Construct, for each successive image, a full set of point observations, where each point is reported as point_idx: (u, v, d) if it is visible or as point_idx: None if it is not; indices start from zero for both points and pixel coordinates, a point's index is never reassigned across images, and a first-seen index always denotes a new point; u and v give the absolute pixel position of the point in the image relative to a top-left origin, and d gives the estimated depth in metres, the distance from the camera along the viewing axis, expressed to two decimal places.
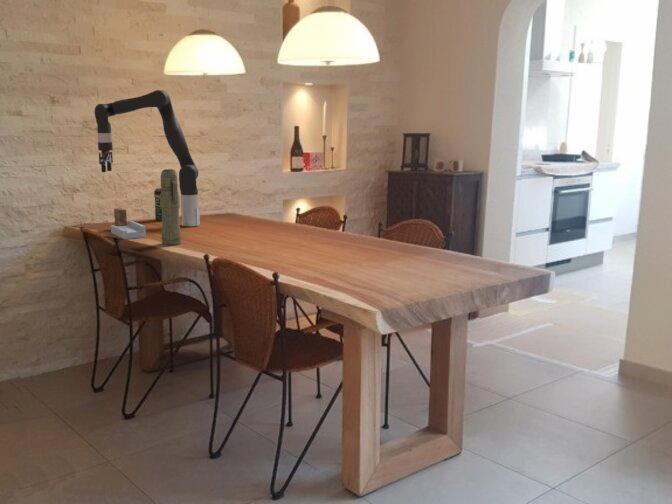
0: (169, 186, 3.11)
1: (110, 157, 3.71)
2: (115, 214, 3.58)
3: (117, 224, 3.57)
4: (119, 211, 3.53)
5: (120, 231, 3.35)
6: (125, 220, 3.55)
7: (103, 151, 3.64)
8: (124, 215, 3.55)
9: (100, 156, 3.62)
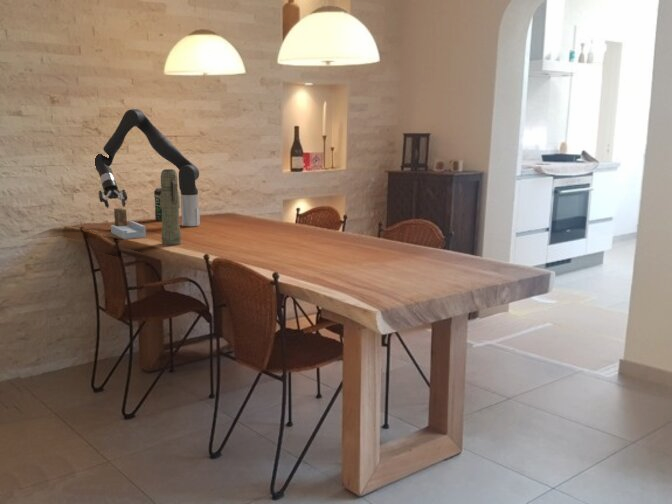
0: (169, 186, 3.11)
1: (117, 193, 3.66)
2: (115, 214, 3.58)
3: (117, 224, 3.57)
4: (119, 211, 3.53)
5: (120, 231, 3.35)
6: (125, 220, 3.55)
7: (104, 190, 3.65)
8: (124, 215, 3.55)
9: (99, 195, 3.63)
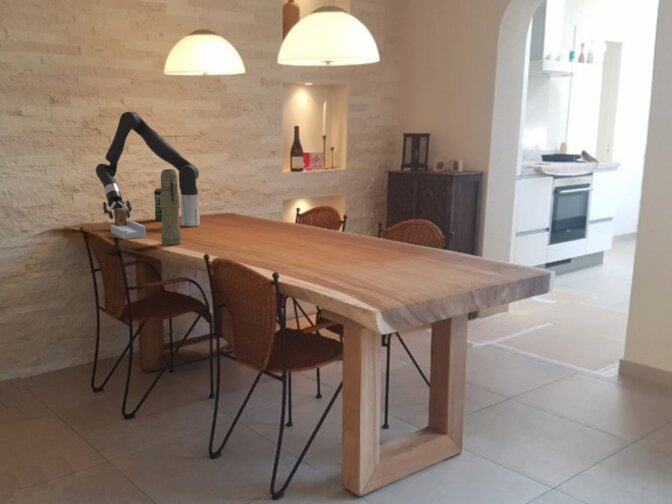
0: (169, 186, 3.11)
1: (122, 204, 3.61)
2: (115, 214, 3.58)
3: (117, 224, 3.57)
4: (119, 211, 3.53)
5: (120, 231, 3.35)
6: (125, 220, 3.55)
7: (108, 201, 3.60)
8: (124, 215, 3.55)
9: (103, 206, 3.58)
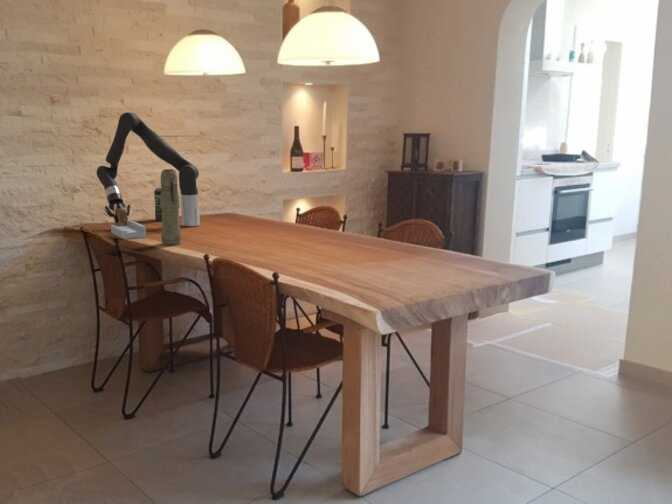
0: (169, 186, 3.11)
1: (122, 207, 3.60)
2: None
3: (117, 224, 3.57)
4: (119, 211, 3.53)
5: (120, 231, 3.35)
6: (125, 220, 3.55)
7: (109, 204, 3.59)
8: (124, 215, 3.55)
9: (106, 210, 3.57)
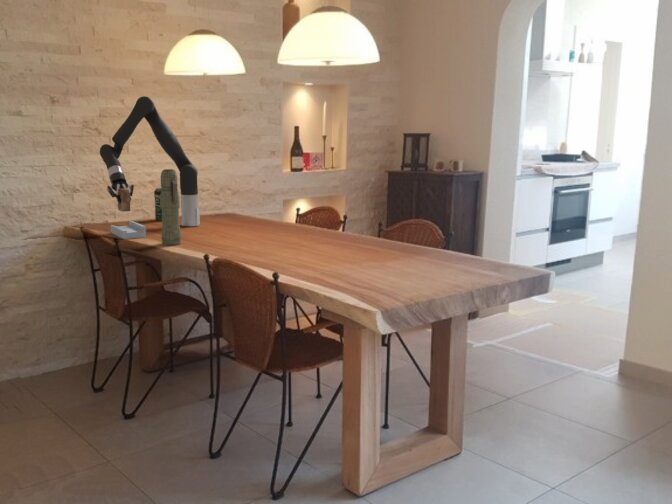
0: (169, 186, 3.11)
1: (125, 187, 3.48)
2: None
3: (120, 204, 3.44)
4: (122, 191, 3.41)
5: (120, 231, 3.35)
6: (128, 200, 3.43)
7: (112, 184, 3.47)
8: (127, 195, 3.42)
9: (108, 190, 3.45)
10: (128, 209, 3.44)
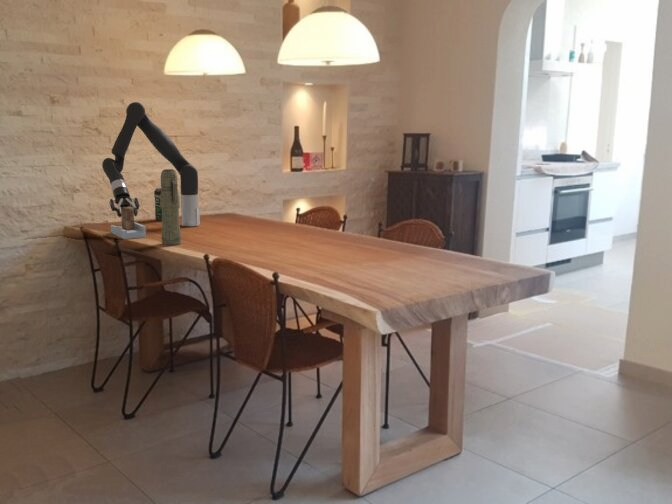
0: (169, 186, 3.11)
1: (129, 201, 3.43)
2: (122, 213, 3.42)
3: (124, 223, 3.40)
4: (126, 209, 3.37)
5: (120, 231, 3.35)
6: (132, 219, 3.39)
7: (115, 198, 3.43)
8: (131, 214, 3.38)
9: (110, 203, 3.40)
10: (132, 228, 3.40)
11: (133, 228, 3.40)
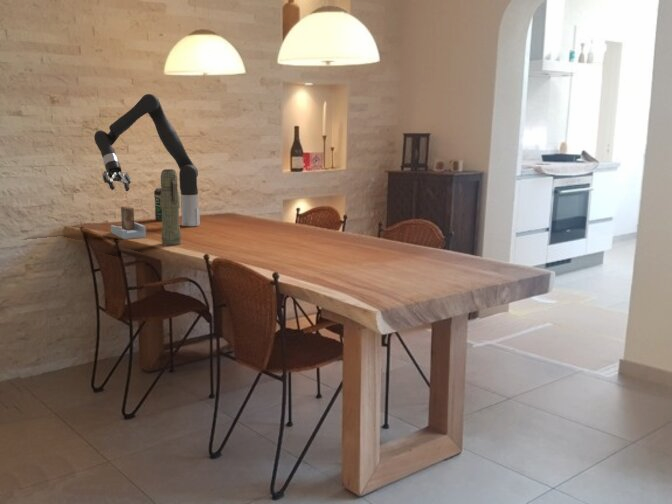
0: (169, 186, 3.11)
1: (122, 176, 3.54)
2: (122, 213, 3.42)
3: (124, 223, 3.40)
4: (126, 209, 3.37)
5: (120, 231, 3.35)
6: (132, 219, 3.39)
7: (108, 171, 3.51)
8: (131, 214, 3.38)
9: (103, 175, 3.48)
10: (132, 228, 3.40)
11: (133, 228, 3.40)
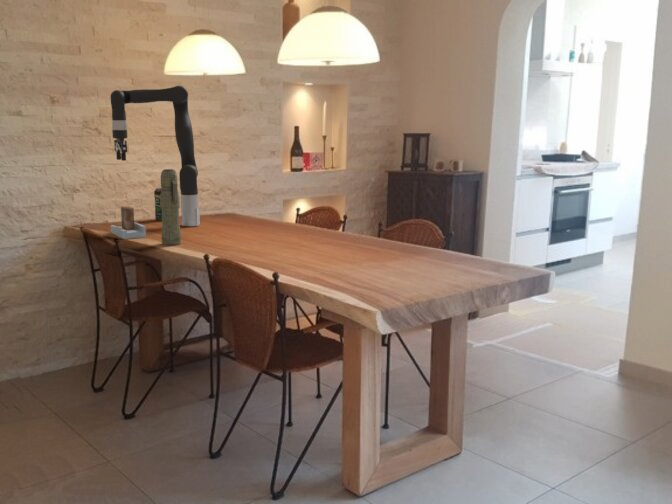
0: (169, 186, 3.11)
1: None
2: (122, 213, 3.42)
3: (124, 223, 3.40)
4: (126, 209, 3.37)
5: (120, 231, 3.35)
6: (132, 219, 3.39)
7: (122, 139, 3.56)
8: (131, 214, 3.38)
9: (123, 144, 3.53)
10: (132, 228, 3.40)
11: (133, 228, 3.40)
